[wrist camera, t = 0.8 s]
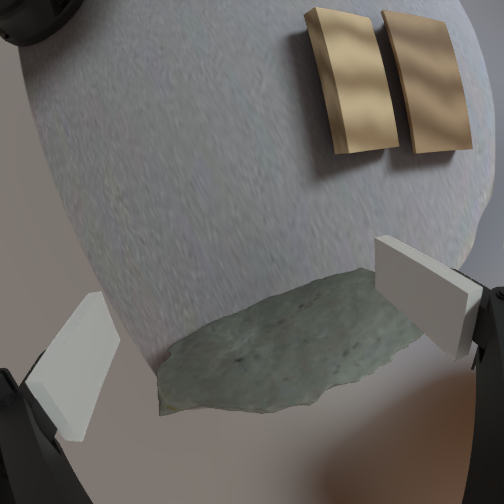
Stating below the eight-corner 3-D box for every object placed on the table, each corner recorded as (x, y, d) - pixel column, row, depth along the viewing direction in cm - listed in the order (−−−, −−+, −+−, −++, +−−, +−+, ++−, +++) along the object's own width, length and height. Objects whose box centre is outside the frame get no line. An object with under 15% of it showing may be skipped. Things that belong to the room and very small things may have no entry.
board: (370, 19, 31) (383, 10, 27) (430, 28, 31) (444, 22, 28) (400, 152, 37) (416, 153, 33) (456, 148, 38) (472, 149, 34)
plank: (298, 22, 30) (309, 6, 26) (362, 24, 31) (379, 11, 26) (326, 154, 36) (343, 154, 31) (389, 146, 36) (410, 146, 32)
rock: (183, 354, 41) (174, 470, 22) (161, 319, 39) (134, 433, 20) (357, 278, 41) (444, 358, 22) (346, 239, 39) (442, 304, 20)
